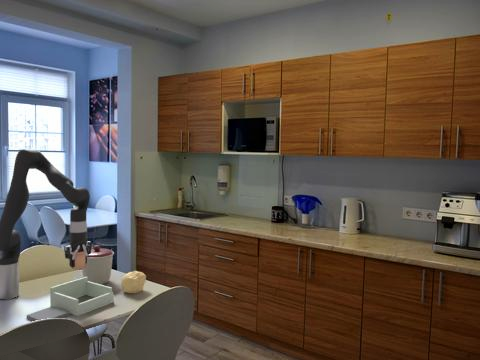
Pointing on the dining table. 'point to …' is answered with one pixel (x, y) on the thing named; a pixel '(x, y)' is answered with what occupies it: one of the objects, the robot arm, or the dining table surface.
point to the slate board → (47, 314)
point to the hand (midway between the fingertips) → (78, 265)
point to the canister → (98, 265)
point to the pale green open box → (69, 291)
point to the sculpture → (133, 282)
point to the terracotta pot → (79, 260)
